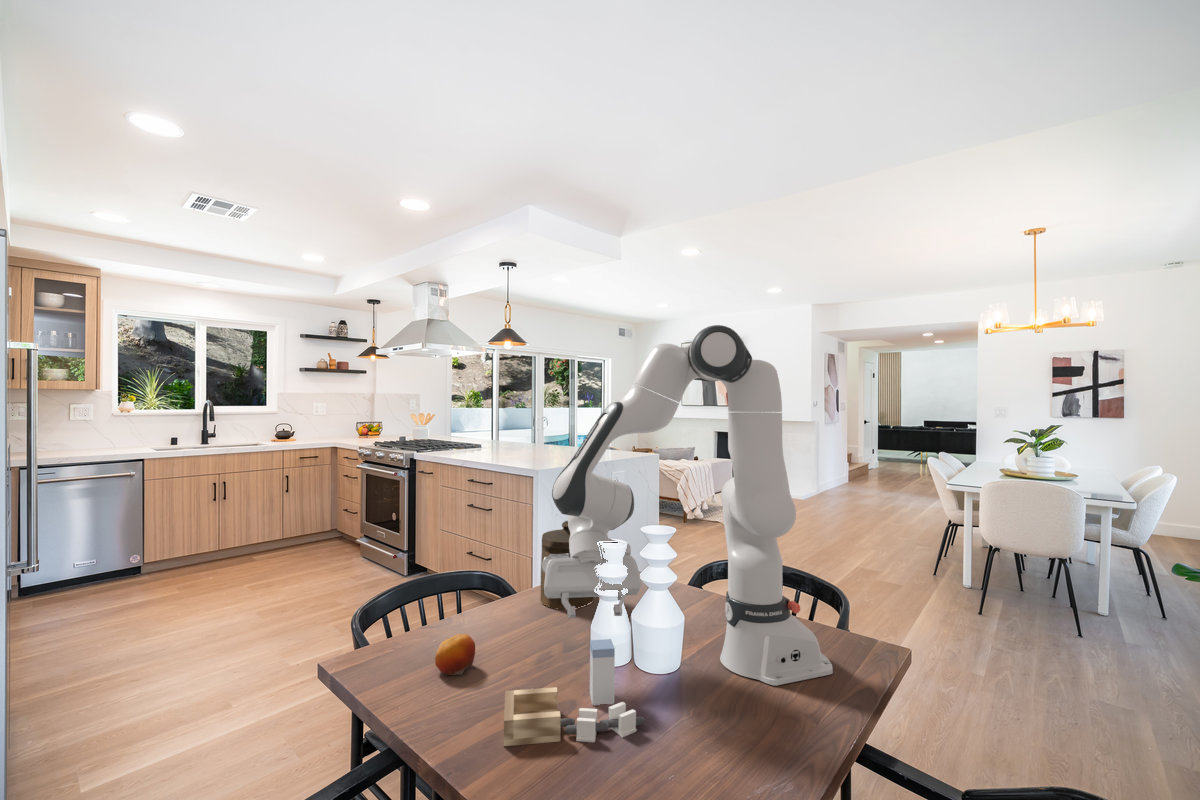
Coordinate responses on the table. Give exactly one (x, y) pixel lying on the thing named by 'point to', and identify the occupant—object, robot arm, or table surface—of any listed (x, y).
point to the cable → (600, 726)
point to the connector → (602, 671)
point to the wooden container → (558, 545)
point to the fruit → (455, 654)
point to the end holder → (531, 716)
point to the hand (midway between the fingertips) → (595, 615)
